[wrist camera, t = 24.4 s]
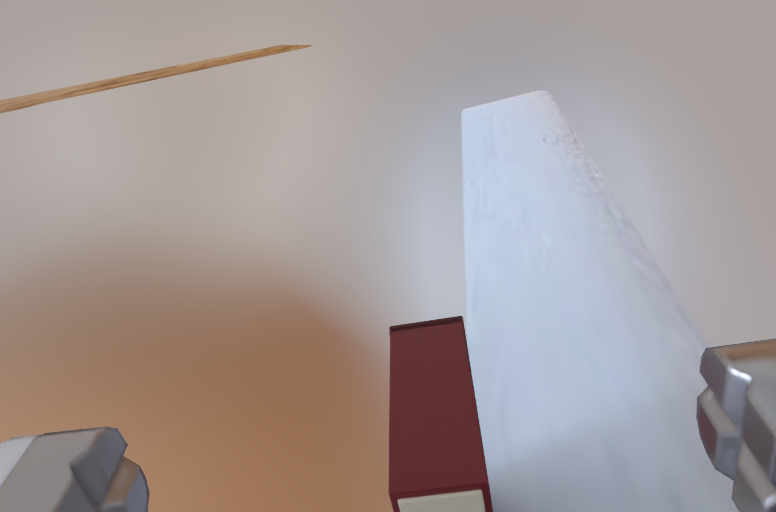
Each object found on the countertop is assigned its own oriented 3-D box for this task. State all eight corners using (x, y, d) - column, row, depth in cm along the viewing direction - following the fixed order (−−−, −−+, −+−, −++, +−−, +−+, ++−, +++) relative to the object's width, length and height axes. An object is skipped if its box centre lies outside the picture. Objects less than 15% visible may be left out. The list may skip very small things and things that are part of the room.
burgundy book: (488, 484, 40) (462, 315, 33) (518, 669, 31) (489, 484, 24) (427, 491, 41) (389, 325, 34) (438, 676, 31) (386, 496, 24)
